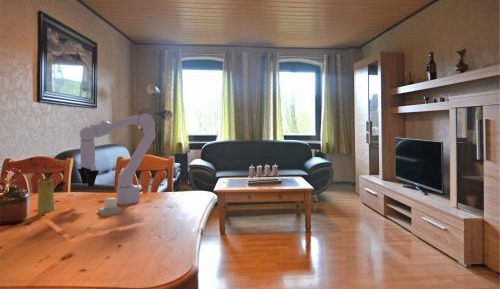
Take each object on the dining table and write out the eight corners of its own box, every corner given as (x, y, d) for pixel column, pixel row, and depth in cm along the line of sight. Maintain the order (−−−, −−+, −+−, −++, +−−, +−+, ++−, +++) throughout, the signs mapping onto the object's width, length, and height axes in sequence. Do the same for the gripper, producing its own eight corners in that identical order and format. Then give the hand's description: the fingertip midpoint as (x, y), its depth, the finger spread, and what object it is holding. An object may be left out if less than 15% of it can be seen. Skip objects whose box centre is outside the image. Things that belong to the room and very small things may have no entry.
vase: (46, 216, 128) (45, 181, 127) (33, 215, 129) (32, 180, 128) (58, 212, 134) (57, 178, 133) (45, 211, 135) (45, 178, 134)
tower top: (115, 210, 134) (115, 205, 134) (121, 213, 129) (121, 208, 129) (98, 213, 130) (98, 208, 129) (103, 216, 124) (103, 211, 124)
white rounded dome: (114, 206, 133) (114, 196, 133) (118, 208, 129) (118, 198, 129) (102, 208, 130) (102, 198, 129) (106, 210, 126) (106, 200, 126)
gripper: (72, 153, 142) (73, 183, 143) (83, 156, 132) (83, 188, 133) (89, 153, 147) (89, 182, 148) (101, 155, 137) (101, 186, 138)
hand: (88, 185), depth 141 cm, fingers open, 7 cm apart
